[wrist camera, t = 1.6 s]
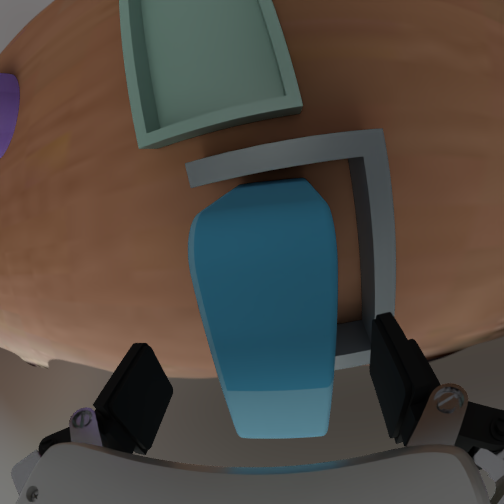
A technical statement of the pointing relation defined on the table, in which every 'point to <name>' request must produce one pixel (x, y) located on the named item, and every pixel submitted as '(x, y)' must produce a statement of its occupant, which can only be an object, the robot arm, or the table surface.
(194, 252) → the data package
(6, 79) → the masking tape
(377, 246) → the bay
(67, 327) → the table surface
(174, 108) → the tray
